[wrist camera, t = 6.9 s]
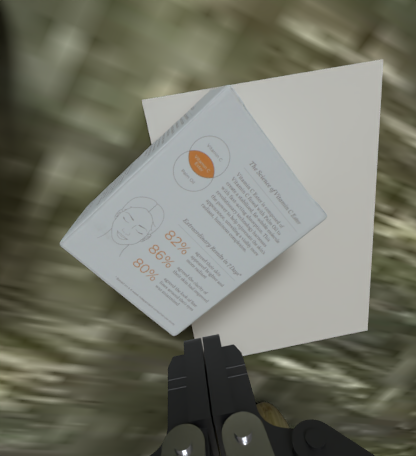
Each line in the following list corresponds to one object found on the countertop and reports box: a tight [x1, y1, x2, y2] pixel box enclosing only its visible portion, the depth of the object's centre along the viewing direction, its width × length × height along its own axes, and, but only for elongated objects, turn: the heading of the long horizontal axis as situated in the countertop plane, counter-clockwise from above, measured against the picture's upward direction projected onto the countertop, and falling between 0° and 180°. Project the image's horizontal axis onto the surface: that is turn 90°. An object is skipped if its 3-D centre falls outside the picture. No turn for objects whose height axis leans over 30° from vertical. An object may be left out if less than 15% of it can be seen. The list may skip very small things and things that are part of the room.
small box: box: [60, 85, 327, 336], centre depth 17 cm, size 8×6×10 cm
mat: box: [142, 59, 383, 356], centre depth 22 cm, size 20×14×1 cm
